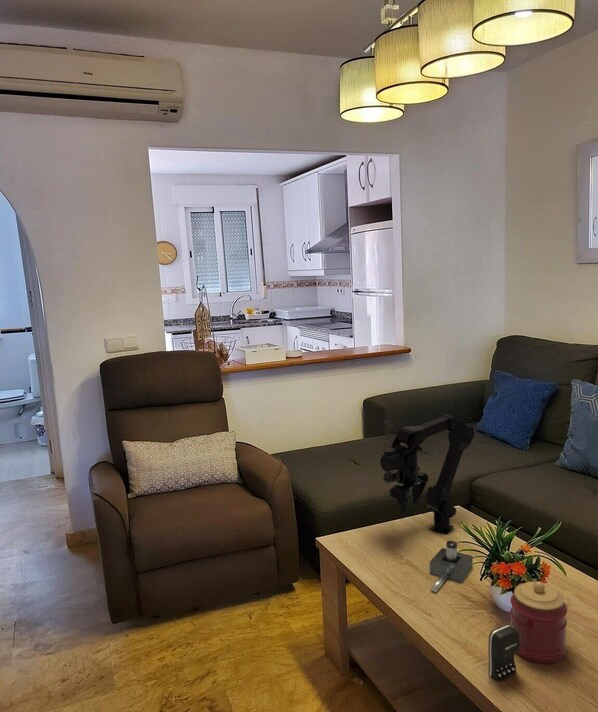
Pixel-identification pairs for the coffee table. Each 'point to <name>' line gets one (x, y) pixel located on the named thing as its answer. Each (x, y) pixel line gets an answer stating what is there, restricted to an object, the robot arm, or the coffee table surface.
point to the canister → (539, 622)
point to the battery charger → (503, 651)
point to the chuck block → (449, 568)
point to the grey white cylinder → (451, 552)
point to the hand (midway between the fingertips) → (409, 508)
